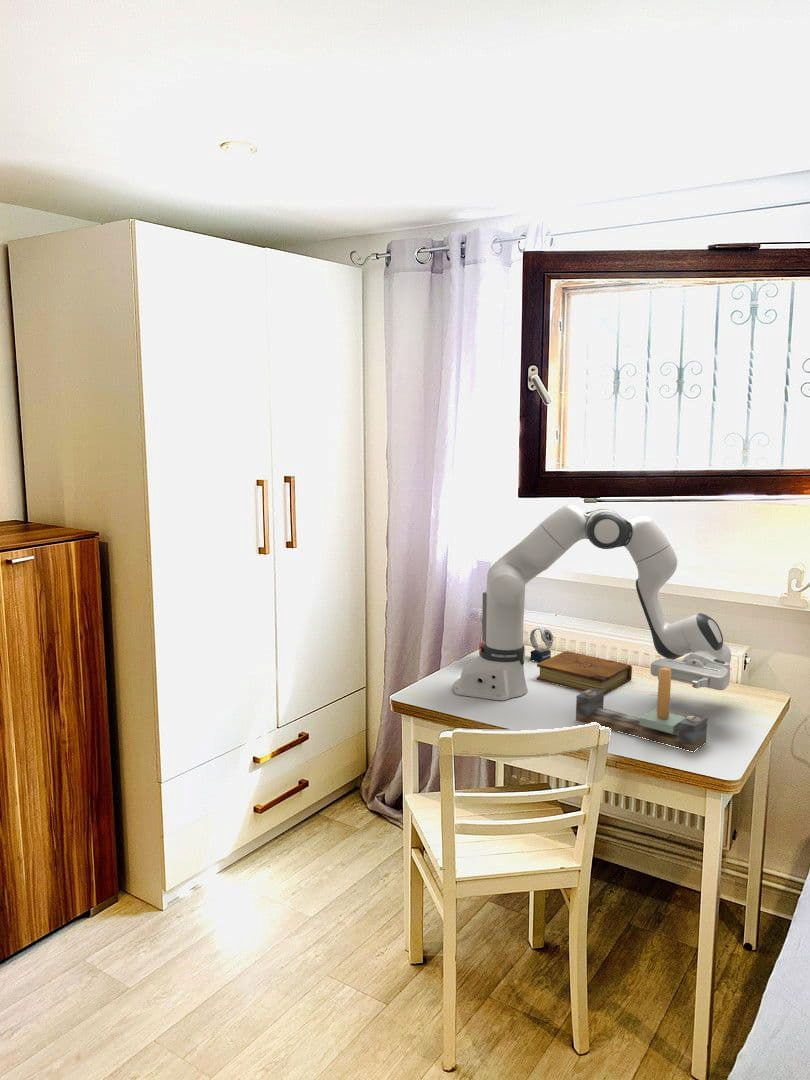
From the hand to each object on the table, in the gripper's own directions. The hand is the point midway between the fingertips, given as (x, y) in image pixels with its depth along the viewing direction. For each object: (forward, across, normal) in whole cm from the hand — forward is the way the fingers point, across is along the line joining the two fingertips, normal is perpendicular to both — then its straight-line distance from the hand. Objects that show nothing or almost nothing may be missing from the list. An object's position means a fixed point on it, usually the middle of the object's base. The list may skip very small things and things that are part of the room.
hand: (677, 681), depth 218 cm
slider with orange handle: (+8, 0, +10) cm, 12 cm away
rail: (+8, -7, +13) cm, 17 cm away
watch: (-28, -59, +13) cm, 67 cm away
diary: (-19, -38, +14) cm, 45 cm away
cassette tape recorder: (-16, -67, +13) cm, 70 cm away
